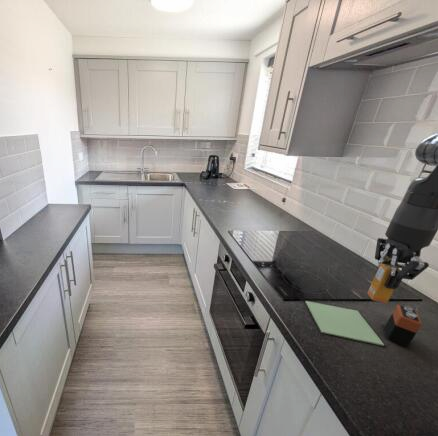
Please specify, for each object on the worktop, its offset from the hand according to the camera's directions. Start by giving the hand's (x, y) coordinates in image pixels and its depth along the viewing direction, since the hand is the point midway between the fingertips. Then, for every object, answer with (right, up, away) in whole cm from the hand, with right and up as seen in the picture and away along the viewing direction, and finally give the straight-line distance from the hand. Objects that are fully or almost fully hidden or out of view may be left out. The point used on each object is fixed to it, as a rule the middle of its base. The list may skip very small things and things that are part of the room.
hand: (384, 282), depth 60 cm
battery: (+14, -19, +10) cm, 26 cm away
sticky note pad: (+1, -17, +15) cm, 22 cm away
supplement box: (0, -5, +2) cm, 5 cm away
